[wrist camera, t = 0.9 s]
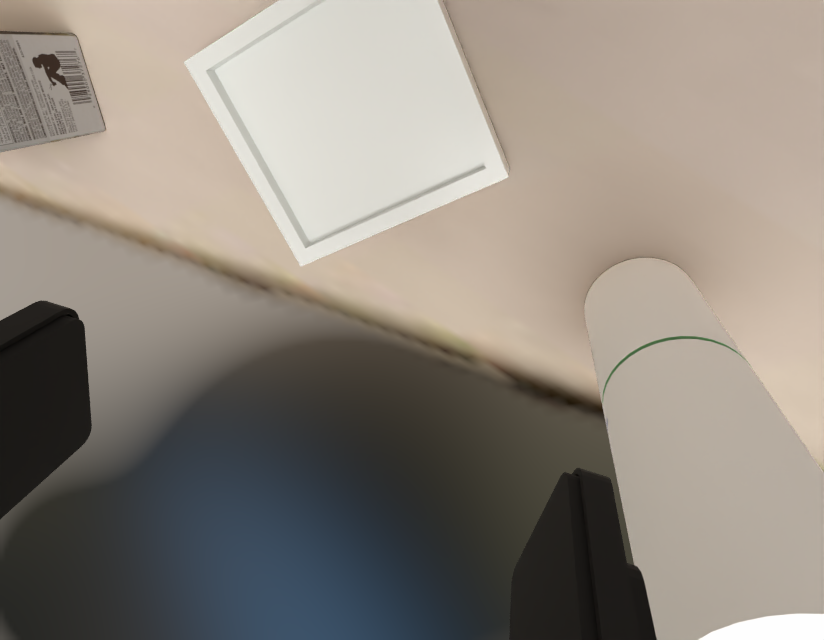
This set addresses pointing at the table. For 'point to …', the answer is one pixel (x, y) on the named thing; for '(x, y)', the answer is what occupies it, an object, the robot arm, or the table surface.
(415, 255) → the table surface
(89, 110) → the coffee box
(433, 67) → the tray
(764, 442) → the cylindrical container
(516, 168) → the table surface
